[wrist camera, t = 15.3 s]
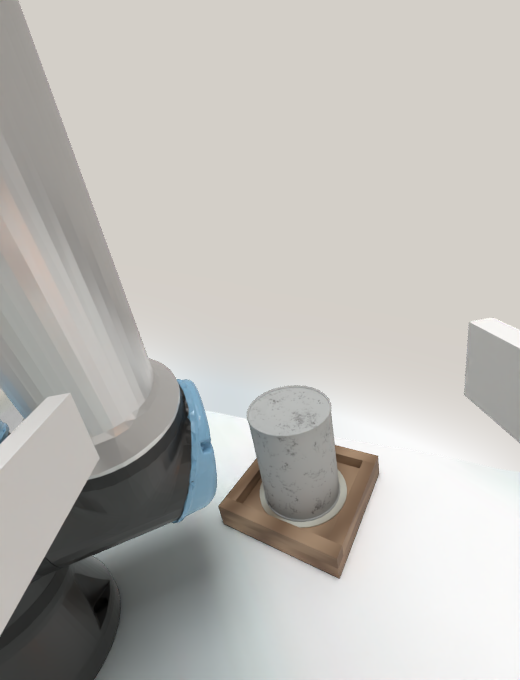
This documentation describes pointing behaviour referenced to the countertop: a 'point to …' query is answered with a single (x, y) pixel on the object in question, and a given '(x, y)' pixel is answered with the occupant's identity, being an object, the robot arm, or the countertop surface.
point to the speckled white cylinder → (295, 451)
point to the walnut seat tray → (311, 536)
